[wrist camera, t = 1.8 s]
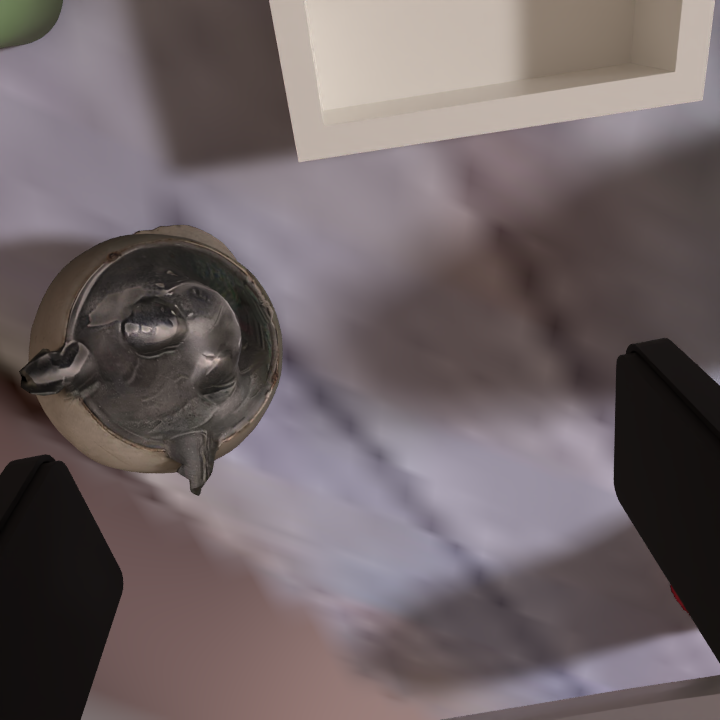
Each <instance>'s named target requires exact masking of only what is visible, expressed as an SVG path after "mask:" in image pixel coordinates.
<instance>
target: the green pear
mask: <svg viewBox="0 0 720 720" xmlns="http://www.w3.org/2000/svg"><path fill="white" fill-rule="evenodd" d="M62 4H63V0H0V48H3V47H10V46H17V45H23V44H28V43H32V42H34V41H36V40H38V39H40V38H42V37H43V36H45V35H46V34H47V33H48V32H49V31H50V30H51V29H52V27H53V26H54V25H55V23H56V21H57V19H58V17H59V15H60V12H61V8H62Z"/></svg>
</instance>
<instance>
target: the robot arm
mask: <svg viewBox="0 0 720 720" xmlns="http://www.w3.org/2000/svg"><path fill="white" fill-rule="evenodd" d="M614 487H615V491H616V495H617V497H618V500H619V502H620V504H621V505H622V507H623V508H624V510H625V512H626V513H627V515H628V517H629V518H630V520H631V521H632V523H633V525H634V526H635V528H636V529H637V531H638V533H639V534H640V536H641V537H642V539H643V541H644V542H645V544H646V545H647V547H648V549H649V550H650V552H651V554H652V555H653V557H654V558H655V560H656V562H657V563H658V565H659V566H660V568H661V570H662V571H663V573H664V574H665V576H666V578H667V579H668V581H669V582H670V584H671V586H672V587H673V589H674V591H675V592H676V594H677V595H678V597H679V599H680V600H681V602H682V603H683V605H684V607H685V608H686V610H687V611H688V613H689V615H690V616H691V618H692V619H693V621H694V623H695V624H696V626H697V628H698V629H699V631H700V632H701V634H702V636H703V637H704V639H705V640H706V642H707V644H708V645H709V647H710V648H711V650H712V652H713V653H714V655H715V656H716V658H717V660H718V661H719V663H720V386H719V385H718V384H717V383H716V382H715V381H714V380H713V379H712V378H711V377H710V376H709V375H707V374H706V373H705V372H704V371H703V370H702V369H701V368H700V367H699V366H698V365H697V364H696V363H694V362H693V361H692V360H691V359H690V358H689V357H688V356H687V355H686V354H685V353H684V352H683V351H682V350H680V349H679V348H678V347H677V346H676V345H675V344H674V343H673V342H672V341H670V340H669V339H667V338H662V339H657V340H652V341H646V342H641V343H636V344H631V345H630V346H628V348H627V351H626V354H625V355H620V356H619V357H618V359H617V364H616V403H615V446H614ZM122 590H123V577H122V572H121V570H120V568H119V566H118V564H117V562H116V560H115V558H114V556H113V554H112V552H111V550H110V548H109V546H108V545H107V543H106V541H105V539H104V537H103V535H102V533H101V531H100V529H99V527H98V525H97V523H96V521H95V520H94V518H93V516H92V514H91V512H90V510H89V508H88V506H87V504H86V502H85V500H84V498H83V497H82V495H81V493H80V491H79V489H78V487H77V485H76V484H75V481H74V479H73V477H72V476H71V474H70V472H69V470H68V468H67V466H66V465H65V464H64V463H63V462H62V461H55V459H54V458H52V457H51V456H50V455H46V454H45V455H40V456H35V457H29V458H24V459H19V460H14V461H11V462H10V463H9V464H8V465H7V466H6V467H5V469H4V470H3V472H2V473H1V475H0V720H81V716H82V714H83V711H84V708H85V705H86V701H87V698H88V695H89V692H90V689H91V686H92V683H93V680H94V677H95V674H96V671H97V668H98V665H99V662H100V659H101V656H102V653H103V650H104V646H105V644H106V640H107V638H108V634H109V631H110V628H111V625H112V622H113V619H114V616H115V613H116V610H117V607H118V604H119V601H120V598H121V595H122ZM442 720H720V675H717V676H710V677H704V678H697V679H690V680H683V681H677V682H670V683H663V684H656V685H650V686H643V687H636V688H630V689H624V690H618V691H612V692H606V693H599V694H593V695H587V696H581V697H575V698H569V699H563V700H557V701H551V702H545V703H539V704H533V705H527V706H521V707H515V708H509V709H503V710H497V711H491V712H485V713H479V714H473V715H466V716H460V717H454V718H448V719H442Z"/></svg>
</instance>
